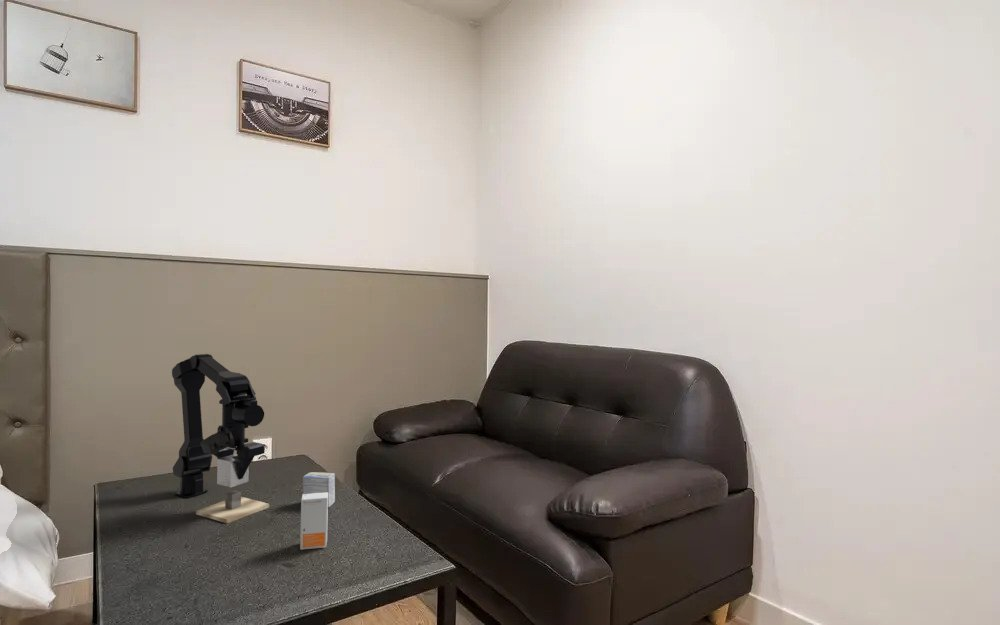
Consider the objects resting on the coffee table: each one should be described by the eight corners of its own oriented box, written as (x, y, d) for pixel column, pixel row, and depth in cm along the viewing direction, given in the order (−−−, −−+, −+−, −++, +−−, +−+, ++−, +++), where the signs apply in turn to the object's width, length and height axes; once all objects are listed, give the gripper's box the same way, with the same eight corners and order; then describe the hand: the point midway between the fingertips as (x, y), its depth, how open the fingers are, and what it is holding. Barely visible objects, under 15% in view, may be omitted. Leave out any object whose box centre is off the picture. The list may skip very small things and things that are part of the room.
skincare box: (299, 550, 126) (300, 499, 126) (301, 543, 130) (301, 493, 130) (327, 548, 128) (327, 497, 128) (327, 540, 132) (328, 491, 132)
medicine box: (335, 502, 158) (335, 472, 157) (328, 508, 153) (329, 477, 153) (309, 501, 158) (309, 471, 158) (302, 506, 154) (302, 476, 154)
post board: (195, 514, 147) (196, 495, 147) (238, 499, 159) (238, 482, 159) (227, 523, 141) (227, 504, 141) (268, 507, 153) (269, 489, 153)
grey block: (217, 484, 149) (217, 458, 149) (235, 478, 154) (235, 453, 154) (230, 487, 146) (230, 461, 146) (248, 481, 151) (248, 456, 151)
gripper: (184, 422, 147) (183, 480, 147) (229, 431, 138) (229, 491, 139) (221, 415, 157) (221, 469, 157) (266, 423, 148) (265, 479, 149)
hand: (233, 477), depth 150 cm, fingers closed on grey block, 6 cm apart
